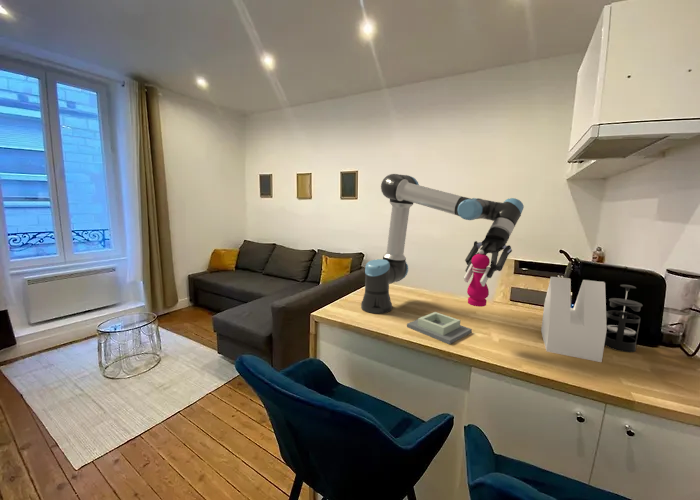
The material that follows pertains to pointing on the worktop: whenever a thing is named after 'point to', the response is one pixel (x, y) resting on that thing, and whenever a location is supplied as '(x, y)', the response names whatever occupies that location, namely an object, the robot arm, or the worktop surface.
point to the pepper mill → (478, 280)
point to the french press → (622, 324)
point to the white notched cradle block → (575, 319)
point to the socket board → (440, 327)
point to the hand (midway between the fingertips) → (473, 281)
